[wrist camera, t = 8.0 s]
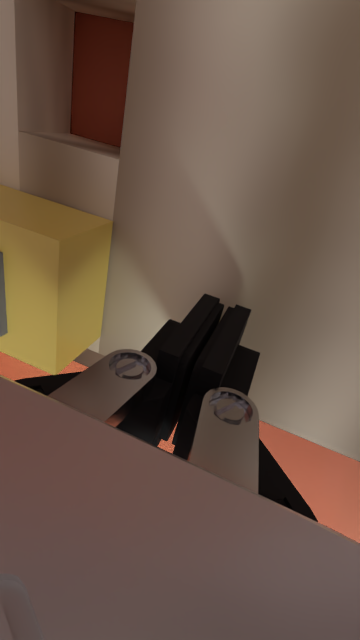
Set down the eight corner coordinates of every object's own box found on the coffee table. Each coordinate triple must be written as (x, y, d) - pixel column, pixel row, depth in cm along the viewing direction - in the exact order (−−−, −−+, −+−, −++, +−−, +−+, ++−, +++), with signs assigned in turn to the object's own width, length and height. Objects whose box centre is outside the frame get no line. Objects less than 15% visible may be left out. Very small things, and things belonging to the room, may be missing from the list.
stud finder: (113, 221, 12) (52, 243, 9) (100, 336, 15) (49, 380, 12) (-24, 176, 13) (-114, 184, 11) (-14, 290, 16) (-84, 321, 13)
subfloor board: (765, -73, 7) (997, -187, 5) (372, 448, 16) (383, 504, 14) (-113, -157, 12) (-225, -236, 10) (-50, 277, 21) (-100, 295, 18)
